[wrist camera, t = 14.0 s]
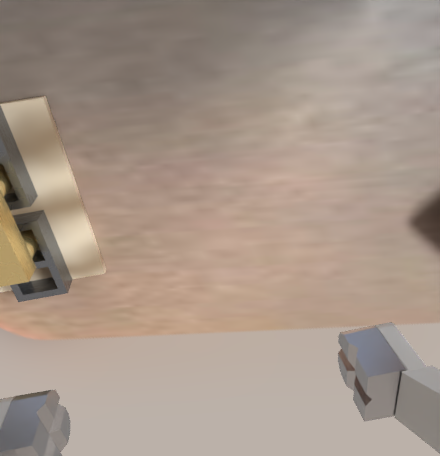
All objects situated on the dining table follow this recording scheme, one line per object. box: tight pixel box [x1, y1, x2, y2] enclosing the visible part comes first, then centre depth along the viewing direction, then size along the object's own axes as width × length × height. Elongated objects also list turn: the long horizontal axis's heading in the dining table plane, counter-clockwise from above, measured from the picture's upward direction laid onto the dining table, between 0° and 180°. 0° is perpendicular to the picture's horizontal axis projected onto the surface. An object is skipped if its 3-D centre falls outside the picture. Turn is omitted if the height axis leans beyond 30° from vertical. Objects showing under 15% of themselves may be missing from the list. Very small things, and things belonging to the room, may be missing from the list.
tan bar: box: [0, 165, 39, 287], centre depth 36 cm, size 10×3×6 cm, turn 8°
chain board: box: [0, 96, 106, 293], centre depth 40 cm, size 20×13×1 cm, turn 8°
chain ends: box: [0, 105, 72, 302], centre depth 38 cm, size 20×5×2 cm, turn 8°
